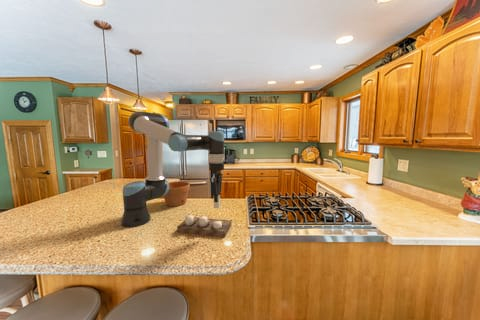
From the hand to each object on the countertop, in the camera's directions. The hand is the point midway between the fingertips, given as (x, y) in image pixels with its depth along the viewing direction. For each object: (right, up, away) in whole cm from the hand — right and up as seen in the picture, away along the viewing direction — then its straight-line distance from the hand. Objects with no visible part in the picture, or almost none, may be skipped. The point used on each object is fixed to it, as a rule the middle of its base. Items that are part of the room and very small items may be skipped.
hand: (216, 207), depth 98 cm
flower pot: (-37, -9, +47) cm, 60 cm away
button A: (-15, -10, +4) cm, 19 cm away
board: (-7, -13, +5) cm, 16 cm away
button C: (0, -12, +1) cm, 12 cm away
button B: (-7, -10, +3) cm, 13 cm away
